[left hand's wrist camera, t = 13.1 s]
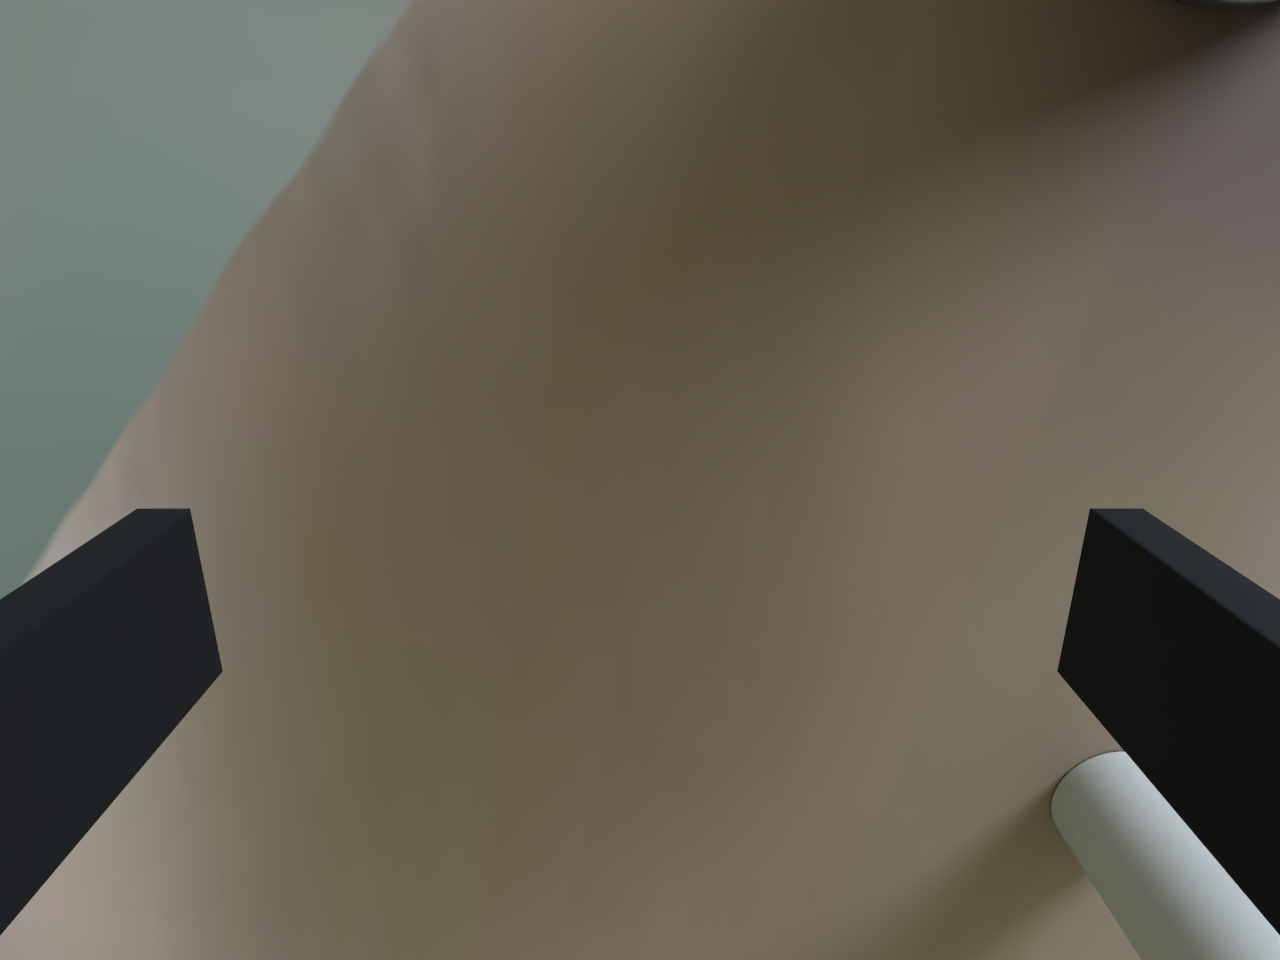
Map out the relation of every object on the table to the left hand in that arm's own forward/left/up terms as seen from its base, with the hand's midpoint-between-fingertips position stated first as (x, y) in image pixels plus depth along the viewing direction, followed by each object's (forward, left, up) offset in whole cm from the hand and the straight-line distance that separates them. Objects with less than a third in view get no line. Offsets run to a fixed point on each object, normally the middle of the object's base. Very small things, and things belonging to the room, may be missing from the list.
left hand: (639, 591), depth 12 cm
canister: (-17, +31, -24) cm, 43 cm away
